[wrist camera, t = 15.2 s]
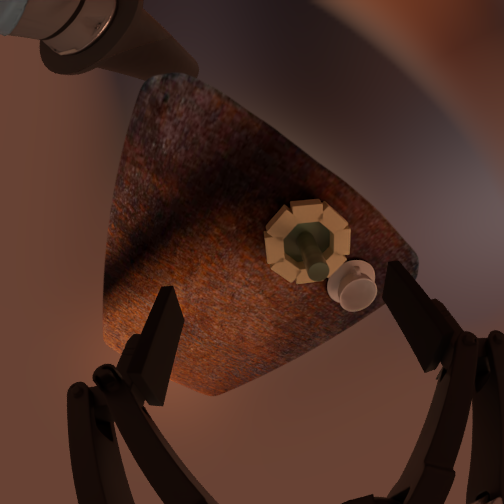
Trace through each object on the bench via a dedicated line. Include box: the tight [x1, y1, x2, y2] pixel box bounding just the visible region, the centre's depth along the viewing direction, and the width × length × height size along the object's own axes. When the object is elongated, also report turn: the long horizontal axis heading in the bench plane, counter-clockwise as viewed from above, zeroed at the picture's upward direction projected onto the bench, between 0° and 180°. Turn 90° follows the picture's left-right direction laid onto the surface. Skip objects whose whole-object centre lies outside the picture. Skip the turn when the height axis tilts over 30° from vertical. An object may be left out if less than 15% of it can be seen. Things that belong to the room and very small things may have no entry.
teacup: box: [327, 260, 377, 311], centre depth 48 cm, size 10×10×5 cm
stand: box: [283, 222, 330, 281], centre depth 40 cm, size 9×9×12 cm
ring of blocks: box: [264, 199, 351, 284], centre depth 43 cm, size 14×14×3 cm
